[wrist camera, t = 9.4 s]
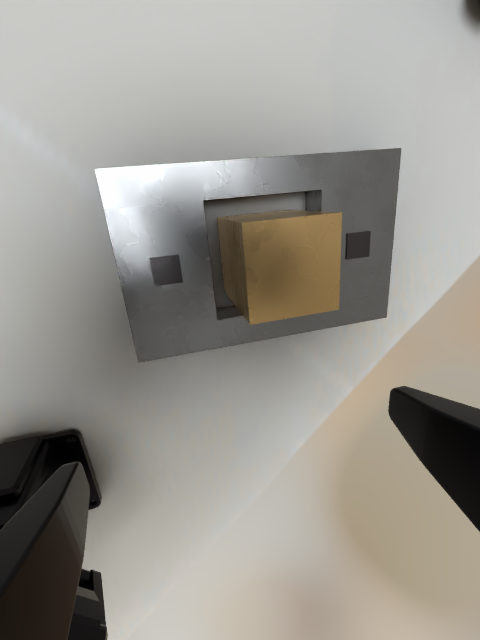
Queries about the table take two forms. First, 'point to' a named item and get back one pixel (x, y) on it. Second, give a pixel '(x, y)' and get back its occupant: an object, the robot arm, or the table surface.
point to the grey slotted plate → (193, 252)
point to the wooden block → (281, 263)
